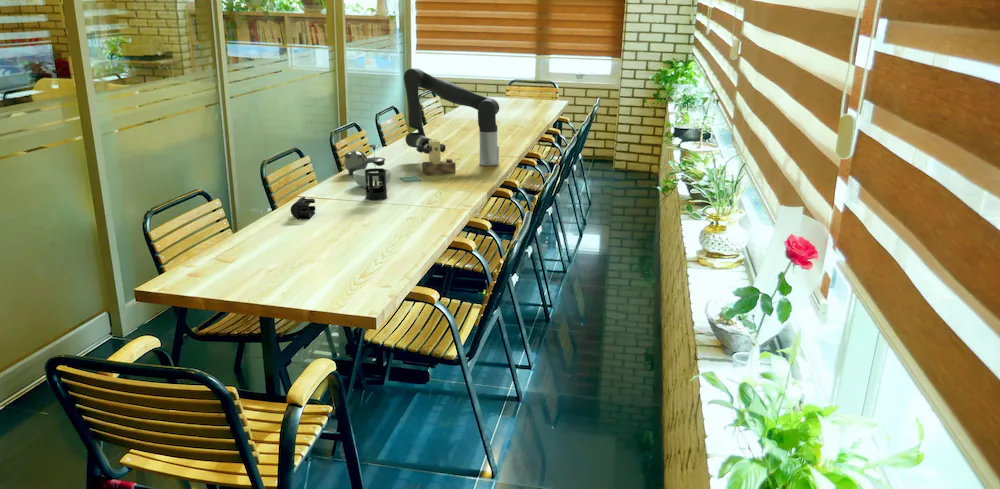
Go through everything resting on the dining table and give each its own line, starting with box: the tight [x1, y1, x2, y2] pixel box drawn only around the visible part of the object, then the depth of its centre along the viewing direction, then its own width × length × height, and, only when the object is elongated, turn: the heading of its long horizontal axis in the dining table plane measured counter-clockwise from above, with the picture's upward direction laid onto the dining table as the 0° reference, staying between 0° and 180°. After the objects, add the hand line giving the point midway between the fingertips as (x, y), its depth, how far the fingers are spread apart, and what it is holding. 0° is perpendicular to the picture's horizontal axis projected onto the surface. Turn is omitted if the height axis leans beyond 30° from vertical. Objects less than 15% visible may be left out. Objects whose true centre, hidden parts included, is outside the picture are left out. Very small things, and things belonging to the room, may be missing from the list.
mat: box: [399, 175, 422, 183], centre depth 361 cm, size 8×8×1 cm
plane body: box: [421, 158, 457, 176], centre depth 373 cm, size 15×6×6 cm, turn 113°
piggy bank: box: [343, 149, 369, 176], centre depth 369 cm, size 11×15×12 cm
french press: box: [364, 144, 389, 202], centre depth 325 cm, size 12×9×23 cm
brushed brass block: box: [428, 139, 442, 165], centre depth 370 cm, size 4×6×11 cm, turn 23°
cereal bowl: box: [352, 167, 392, 189], centre depth 346 cm, size 17×17×7 cm
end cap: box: [290, 196, 316, 220], centre depth 300 cm, size 10×7×7 cm
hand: (435, 150), depth 368 cm, fingers open, 7 cm apart
